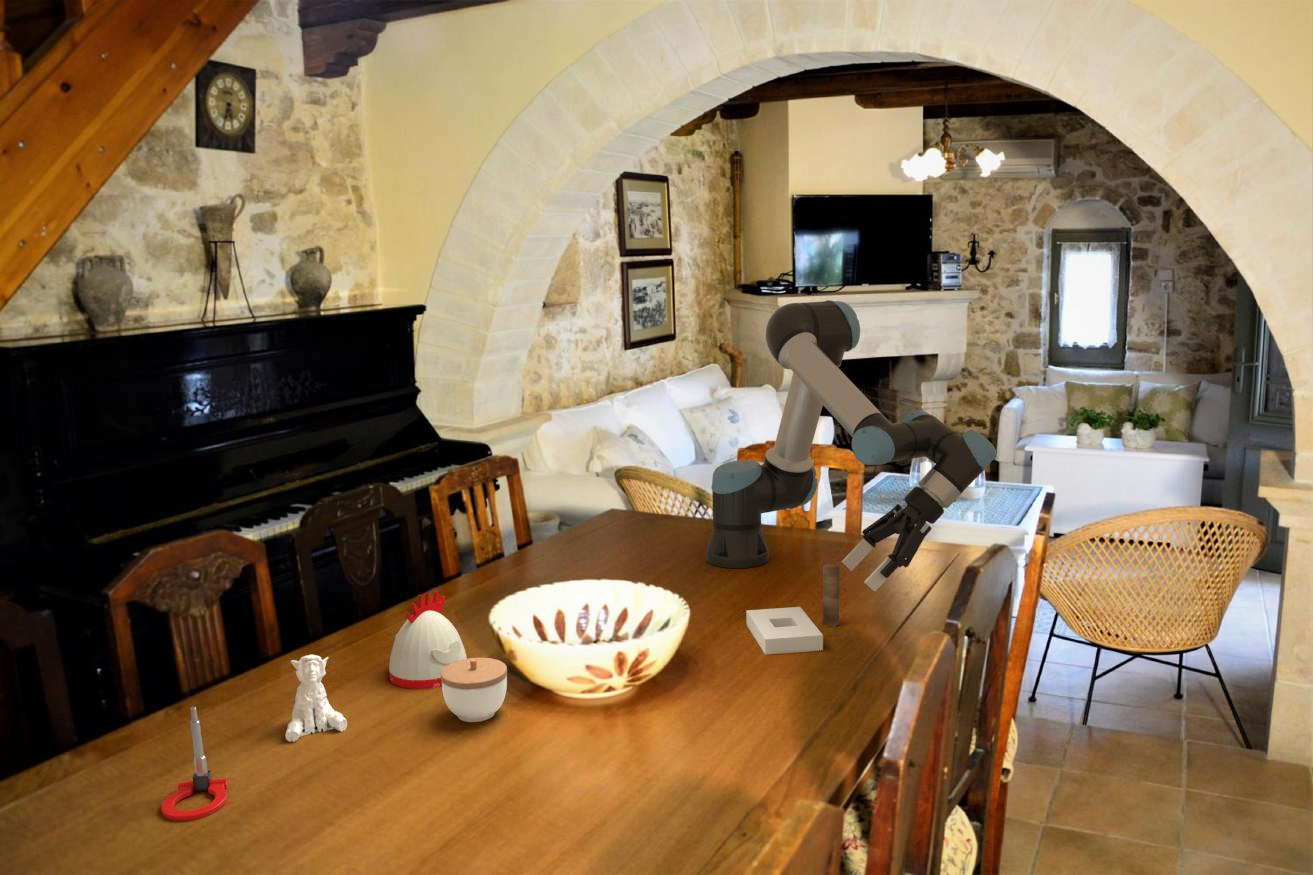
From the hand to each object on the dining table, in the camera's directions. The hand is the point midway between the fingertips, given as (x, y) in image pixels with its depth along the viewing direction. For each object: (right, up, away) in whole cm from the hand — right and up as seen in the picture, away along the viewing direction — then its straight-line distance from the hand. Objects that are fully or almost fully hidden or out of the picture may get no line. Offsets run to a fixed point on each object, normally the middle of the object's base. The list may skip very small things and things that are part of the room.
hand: (857, 576), depth 210 cm
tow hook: (-104, -24, -61) cm, 123 cm away
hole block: (-15, -11, -4) cm, 19 cm away
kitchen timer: (-81, -15, -17) cm, 84 cm away
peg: (-5, -10, +2) cm, 11 cm away
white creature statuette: (-95, -19, -38) cm, 104 cm away
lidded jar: (-69, -18, -35) cm, 80 cm away
